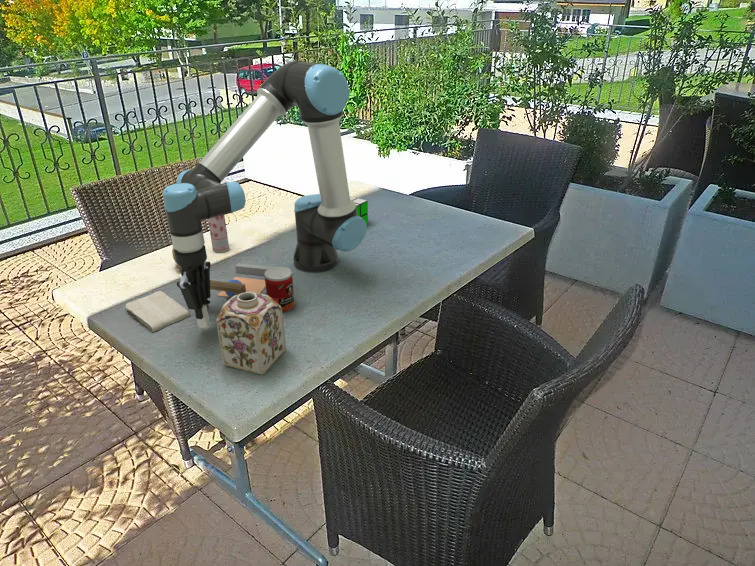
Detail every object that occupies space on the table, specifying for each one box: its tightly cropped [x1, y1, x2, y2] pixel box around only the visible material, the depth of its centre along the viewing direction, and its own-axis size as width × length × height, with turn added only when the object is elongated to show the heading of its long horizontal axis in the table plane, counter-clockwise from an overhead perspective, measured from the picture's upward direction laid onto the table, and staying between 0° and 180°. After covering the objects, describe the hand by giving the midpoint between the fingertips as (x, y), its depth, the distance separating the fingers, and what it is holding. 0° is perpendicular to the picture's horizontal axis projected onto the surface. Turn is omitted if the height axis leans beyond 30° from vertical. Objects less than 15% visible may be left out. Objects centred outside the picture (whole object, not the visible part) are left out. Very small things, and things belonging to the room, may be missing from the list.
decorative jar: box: [215, 292, 287, 376], centre depth 132 cm, size 12×12×18 cm
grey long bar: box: [234, 262, 273, 277], centre depth 175 cm, size 14×2×2 cm, turn 77°
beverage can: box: [207, 215, 230, 254], centre depth 188 cm, size 6×6×15 cm
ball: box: [225, 278, 242, 298], centre depth 161 cm, size 6×6×6 cm
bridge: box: [207, 279, 246, 310], centre depth 153 cm, size 3×14×9 cm, turn 77°
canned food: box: [264, 266, 296, 313], centre depth 155 cm, size 8×8×11 cm
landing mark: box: [217, 276, 266, 298], centre depth 167 cm, size 12×12×1 cm
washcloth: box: [125, 290, 191, 333], centre depth 154 cm, size 12×18×3 cm, turn 47°
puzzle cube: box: [350, 196, 369, 226], centre depth 208 cm, size 10×10×10 cm
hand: (204, 326), depth 145 cm, fingers closed
